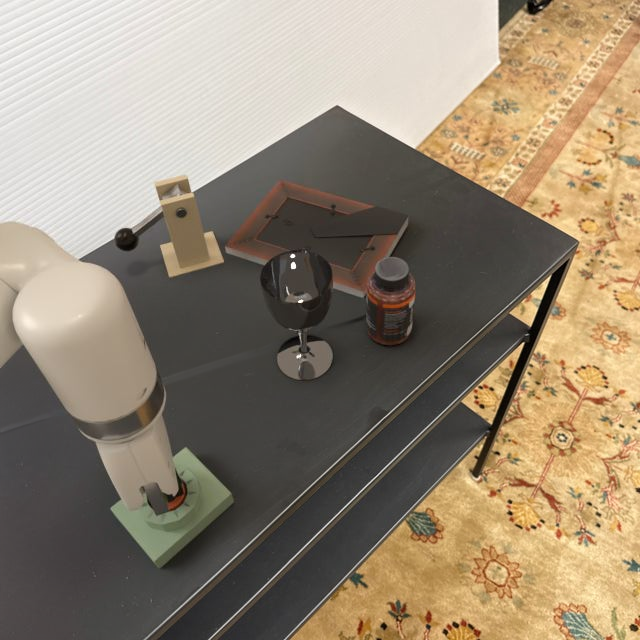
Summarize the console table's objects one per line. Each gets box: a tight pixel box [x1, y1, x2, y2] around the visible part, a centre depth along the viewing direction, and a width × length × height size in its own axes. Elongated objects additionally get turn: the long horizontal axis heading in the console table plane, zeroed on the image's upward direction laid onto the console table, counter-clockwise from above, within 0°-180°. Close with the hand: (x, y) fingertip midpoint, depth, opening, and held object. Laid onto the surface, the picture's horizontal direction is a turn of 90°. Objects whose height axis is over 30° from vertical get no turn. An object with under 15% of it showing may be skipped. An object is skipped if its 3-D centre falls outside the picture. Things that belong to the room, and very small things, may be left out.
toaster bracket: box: [153, 174, 225, 279], centre depth 89 cm, size 8×7×13 cm
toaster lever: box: [113, 184, 187, 252], centre depth 87 cm, size 12×3×3 cm, turn 110°
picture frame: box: [224, 179, 409, 299], centre depth 94 cm, size 16×2×22 cm
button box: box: [110, 446, 235, 570], centre depth 68 cm, size 10×8×4 cm
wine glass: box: [259, 250, 334, 381], centre depth 76 cm, size 8×8×15 cm
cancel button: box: [168, 482, 187, 511], centre depth 67 cm, size 4×4×2 cm
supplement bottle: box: [365, 256, 417, 346], centre depth 80 cm, size 6×6×11 cm
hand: (167, 492), depth 66 cm, fingers closed
